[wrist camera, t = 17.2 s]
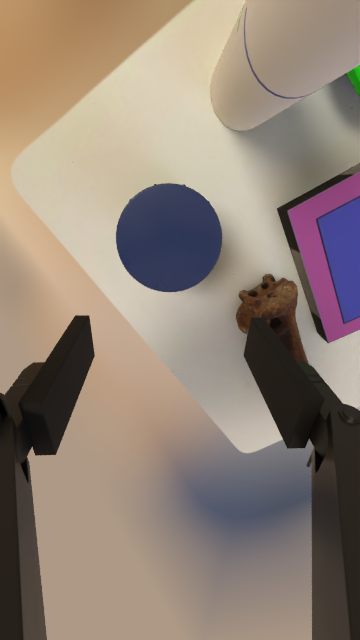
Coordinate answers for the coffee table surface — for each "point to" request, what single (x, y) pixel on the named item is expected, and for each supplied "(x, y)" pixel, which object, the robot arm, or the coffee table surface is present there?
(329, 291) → the book
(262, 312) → the bone
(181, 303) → the coffee table surface
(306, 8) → the cylindrical container
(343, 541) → the robot arm
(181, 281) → the jar lid
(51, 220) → the coffee table surface
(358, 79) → the green rounded piece
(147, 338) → the coffee table surface
